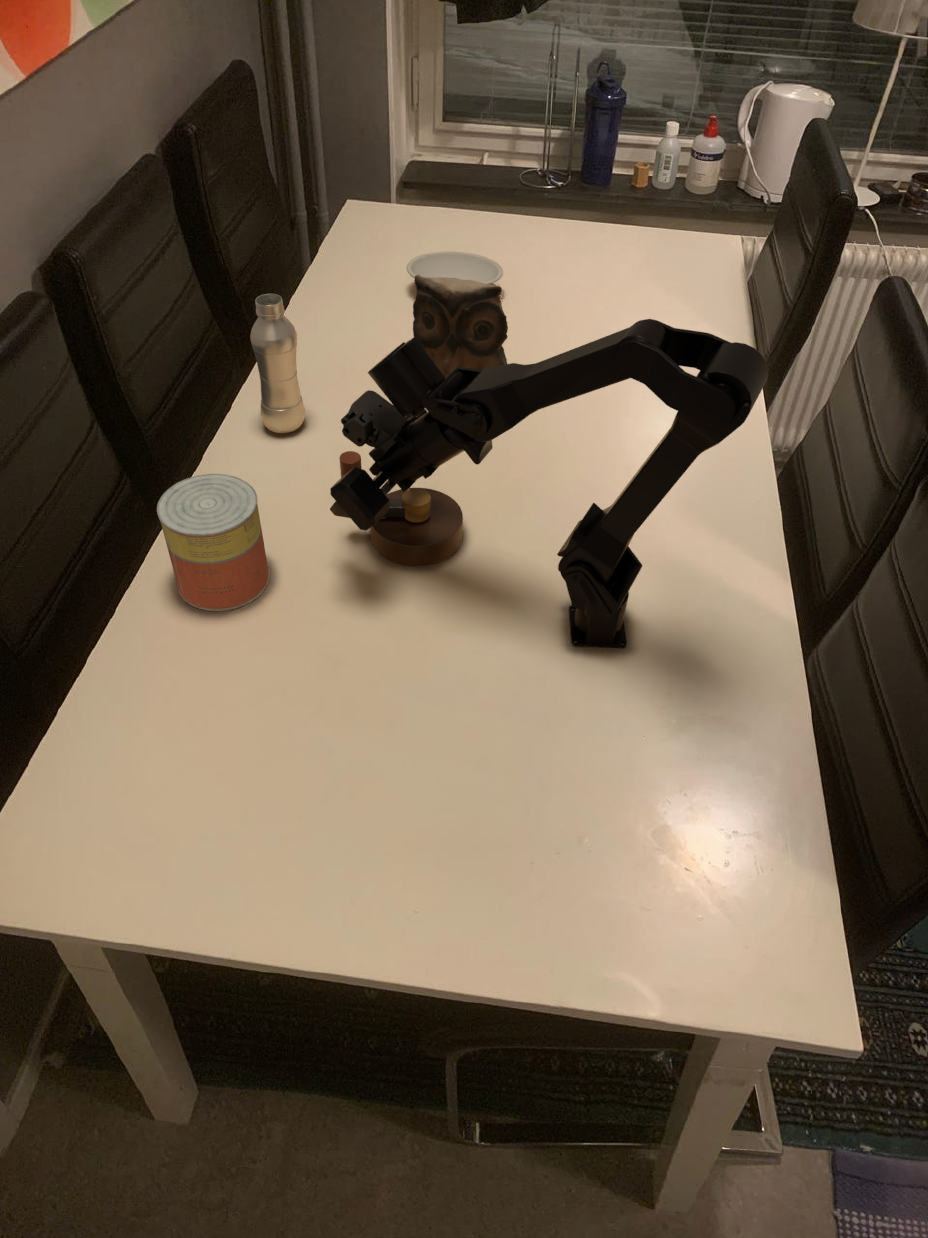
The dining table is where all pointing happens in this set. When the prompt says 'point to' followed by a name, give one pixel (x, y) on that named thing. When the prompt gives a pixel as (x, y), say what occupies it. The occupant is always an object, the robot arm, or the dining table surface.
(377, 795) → the dining table surface
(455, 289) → the owl
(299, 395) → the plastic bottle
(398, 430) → the robot arm
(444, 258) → the dish
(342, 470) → the crank handle
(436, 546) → the crank base
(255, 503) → the canned food
